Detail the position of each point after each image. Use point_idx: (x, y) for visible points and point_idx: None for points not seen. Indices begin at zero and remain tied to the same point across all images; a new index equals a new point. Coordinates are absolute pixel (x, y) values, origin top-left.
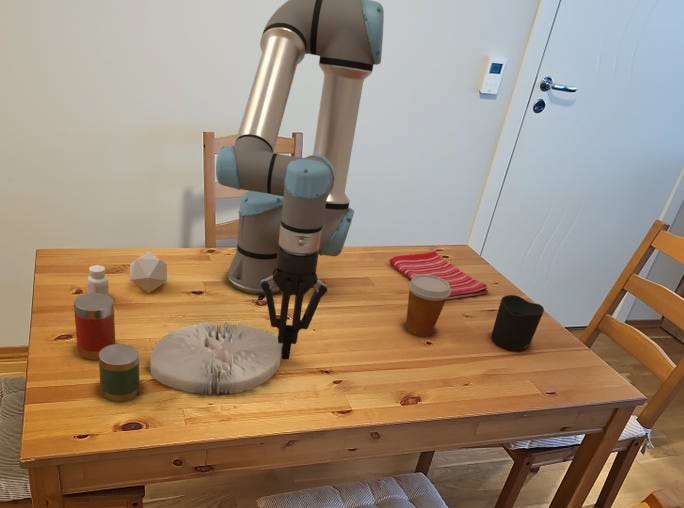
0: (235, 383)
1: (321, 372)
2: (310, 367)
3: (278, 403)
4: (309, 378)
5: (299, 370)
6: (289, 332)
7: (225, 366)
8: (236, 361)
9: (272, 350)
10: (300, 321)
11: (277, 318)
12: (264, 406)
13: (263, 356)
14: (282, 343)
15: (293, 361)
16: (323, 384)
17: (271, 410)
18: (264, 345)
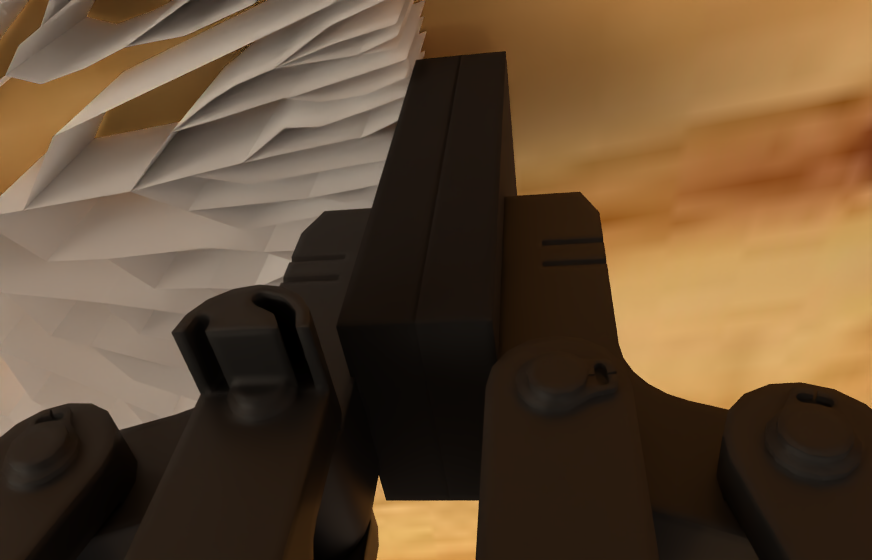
0: None
1: (868, 164)
2: (764, 98)
3: (467, 510)
4: (715, 270)
5: (633, 172)
6: (459, 491)
7: (2, 381)
8: (45, 355)
9: (303, 145)
10: (681, 553)
11: (126, 524)
12: (390, 532)
13: (240, 235)
14: (399, 123)
15: (578, 20)
16: (828, 325)
17: (433, 551)
18: (176, 32)
